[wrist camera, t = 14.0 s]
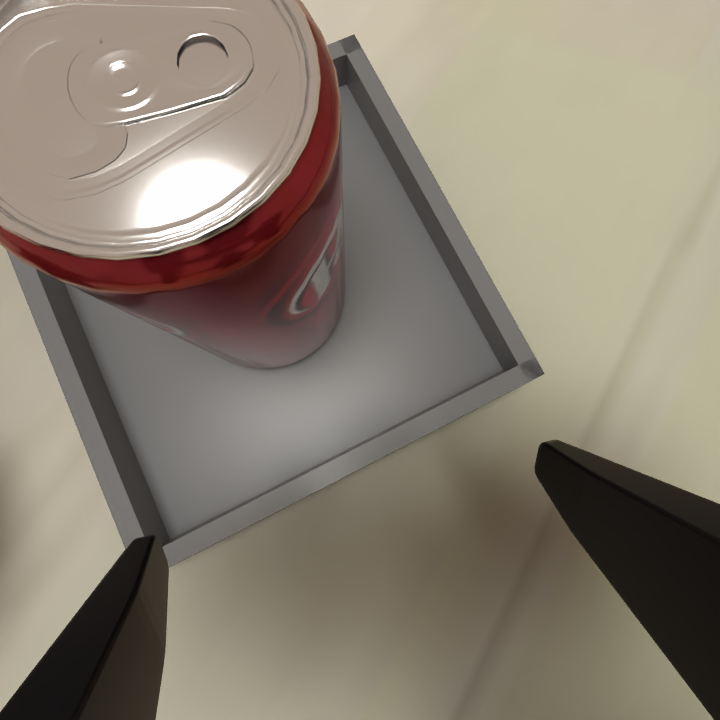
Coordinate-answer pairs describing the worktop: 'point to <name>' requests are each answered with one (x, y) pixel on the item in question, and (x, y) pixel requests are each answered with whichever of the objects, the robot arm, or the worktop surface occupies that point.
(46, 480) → the worktop surface
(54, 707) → the robot arm
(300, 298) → the soda can
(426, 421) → the tray
